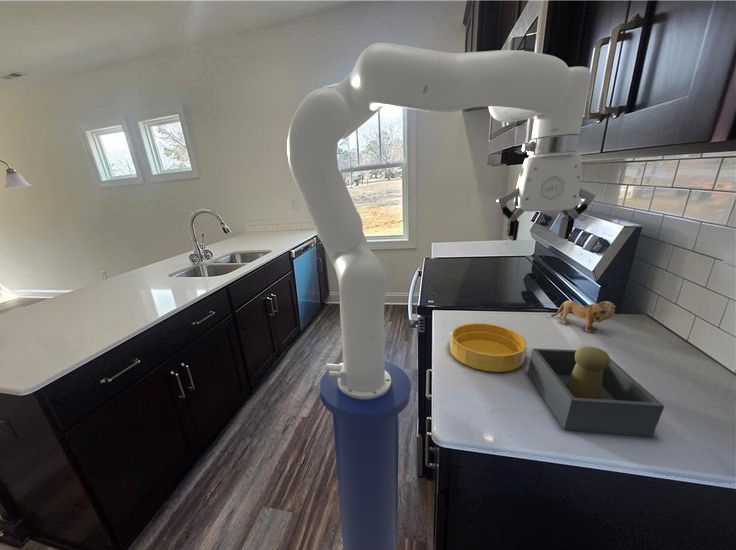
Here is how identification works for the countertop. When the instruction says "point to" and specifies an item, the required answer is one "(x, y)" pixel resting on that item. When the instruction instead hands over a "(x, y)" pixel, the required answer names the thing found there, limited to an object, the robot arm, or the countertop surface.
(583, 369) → the cork
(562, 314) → the lion figurine
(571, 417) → the bin
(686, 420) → the countertop surface
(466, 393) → the countertop surface
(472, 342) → the bowl
